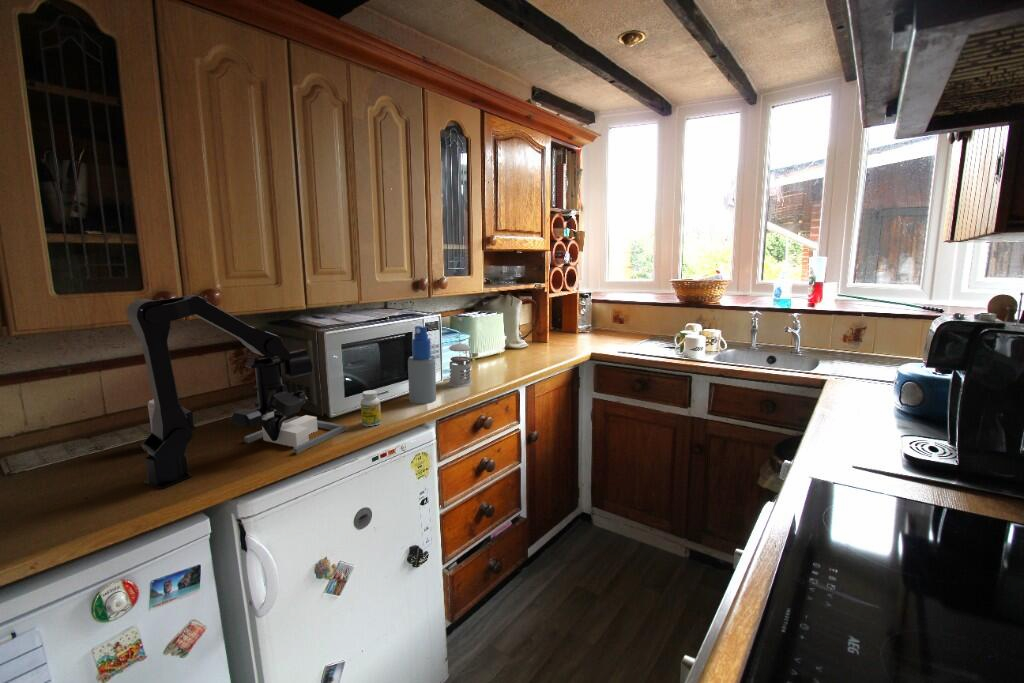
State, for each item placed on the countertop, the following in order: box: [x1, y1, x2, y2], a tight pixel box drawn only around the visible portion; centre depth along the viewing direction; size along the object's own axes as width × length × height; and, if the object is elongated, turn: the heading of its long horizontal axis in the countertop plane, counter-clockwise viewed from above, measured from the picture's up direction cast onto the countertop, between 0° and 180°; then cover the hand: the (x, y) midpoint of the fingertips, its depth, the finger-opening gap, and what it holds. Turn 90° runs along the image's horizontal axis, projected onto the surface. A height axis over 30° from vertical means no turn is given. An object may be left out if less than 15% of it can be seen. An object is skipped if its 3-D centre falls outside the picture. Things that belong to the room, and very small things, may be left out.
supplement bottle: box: [360, 389, 382, 427], centre depth 140 cm, size 5×5×10 cm
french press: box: [446, 317, 474, 388], centre depth 181 cm, size 10×12×25 cm
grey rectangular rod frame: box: [243, 415, 347, 454], centre depth 131 cm, size 17×18×2 cm
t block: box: [261, 414, 319, 448], centre depth 131 cm, size 11×12×4 cm
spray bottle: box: [407, 325, 437, 405], centre depth 161 cm, size 9×9×25 cm
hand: (274, 440), depth 125 cm, fingers closed
